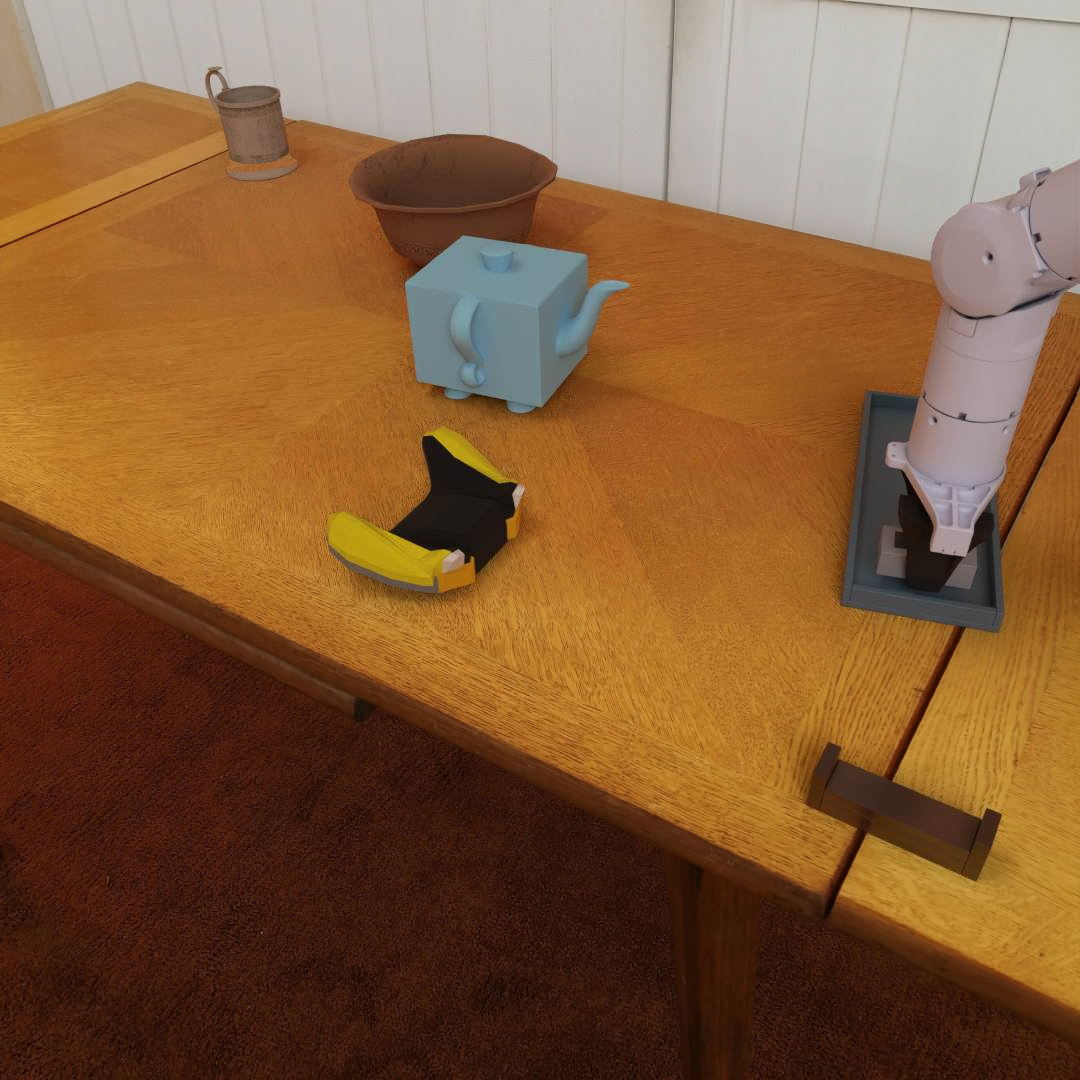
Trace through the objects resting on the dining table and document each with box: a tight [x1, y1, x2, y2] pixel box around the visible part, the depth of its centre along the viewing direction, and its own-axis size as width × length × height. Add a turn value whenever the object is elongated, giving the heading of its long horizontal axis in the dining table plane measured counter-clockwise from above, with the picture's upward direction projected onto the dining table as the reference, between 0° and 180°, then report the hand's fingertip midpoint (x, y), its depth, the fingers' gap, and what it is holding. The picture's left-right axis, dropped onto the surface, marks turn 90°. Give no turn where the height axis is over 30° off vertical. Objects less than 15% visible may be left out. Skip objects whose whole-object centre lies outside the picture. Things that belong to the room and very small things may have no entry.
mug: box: [204, 66, 300, 182], centre depth 136 cm, size 14×10×12 cm
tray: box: [840, 389, 1006, 634], centre depth 75 cm, size 10×26×2 cm, turn 163°
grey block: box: [876, 525, 977, 589], centre depth 67 cm, size 6×3×2 cm, turn 73°
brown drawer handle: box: [805, 741, 1003, 882], centre depth 53 cm, size 9×2×3 cm, turn 58°
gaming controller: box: [326, 426, 526, 595], centre depth 72 cm, size 15×6×10 cm
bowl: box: [347, 133, 559, 270], centre depth 108 cm, size 22×22×11 cm
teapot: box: [404, 236, 631, 414], centre depth 87 cm, size 18×16×13 cm
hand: (923, 569), depth 68 cm, fingers closed on grey block, 3 cm apart
